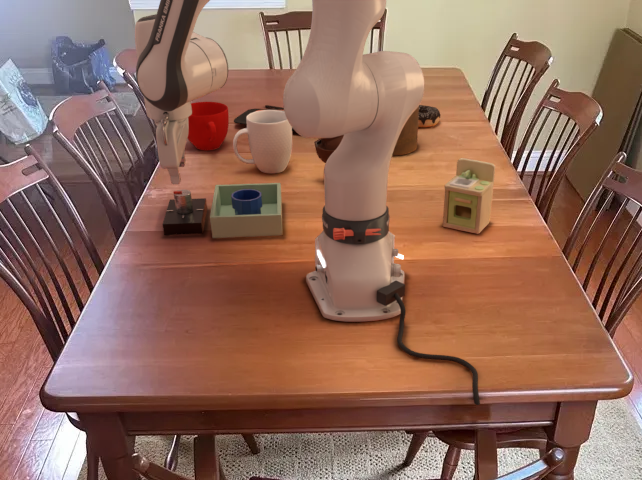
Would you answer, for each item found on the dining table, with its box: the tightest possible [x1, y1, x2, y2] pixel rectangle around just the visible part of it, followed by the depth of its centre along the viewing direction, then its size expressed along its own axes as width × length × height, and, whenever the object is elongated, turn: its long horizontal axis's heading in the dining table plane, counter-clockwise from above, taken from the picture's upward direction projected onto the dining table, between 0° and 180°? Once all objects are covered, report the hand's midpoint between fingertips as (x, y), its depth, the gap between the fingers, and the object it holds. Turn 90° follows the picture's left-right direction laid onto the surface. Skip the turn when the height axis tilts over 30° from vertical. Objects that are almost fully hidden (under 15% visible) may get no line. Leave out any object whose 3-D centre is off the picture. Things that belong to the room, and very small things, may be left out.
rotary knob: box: [172, 189, 193, 214], centre depth 150 cm, size 4×4×4 cm
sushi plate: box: [233, 104, 297, 133], centre depth 211 cm, size 29×30×4 cm
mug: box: [232, 110, 293, 174], centre depth 175 cm, size 15×11×13 cm
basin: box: [209, 182, 283, 239], centre depth 153 cm, size 18×15×5 cm
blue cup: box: [231, 189, 262, 215], centre depth 152 cm, size 6×6×6 cm
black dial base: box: [162, 197, 208, 236], centre depth 152 cm, size 13×8×3 cm, turn 5°
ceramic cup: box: [187, 101, 230, 151], centre depth 188 cm, size 13×17×10 cm
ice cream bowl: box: [313, 135, 344, 164], centre depth 167 cm, size 11×11×15 cm
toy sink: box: [442, 157, 496, 235], centre depth 149 cm, size 8×7×13 cm
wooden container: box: [392, 107, 419, 157], centre depth 185 cm, size 15×15×22 cm
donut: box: [418, 104, 441, 128], centre depth 207 cm, size 11×12×4 cm
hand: (178, 174), depth 147 cm, fingers open, 8 cm apart
